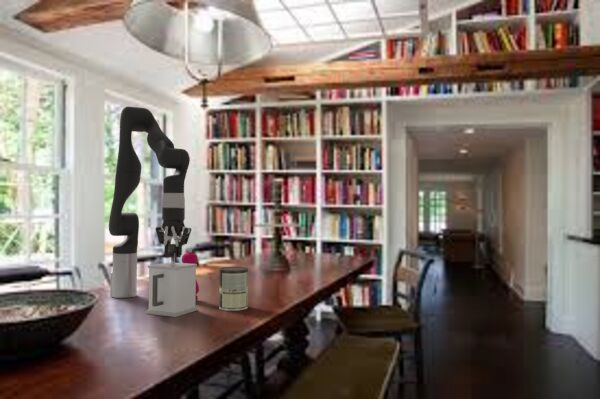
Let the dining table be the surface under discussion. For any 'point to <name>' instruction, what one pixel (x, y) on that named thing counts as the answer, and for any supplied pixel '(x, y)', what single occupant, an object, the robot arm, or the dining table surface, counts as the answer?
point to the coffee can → (233, 288)
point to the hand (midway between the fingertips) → (173, 256)
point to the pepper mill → (191, 259)
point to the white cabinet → (172, 289)
